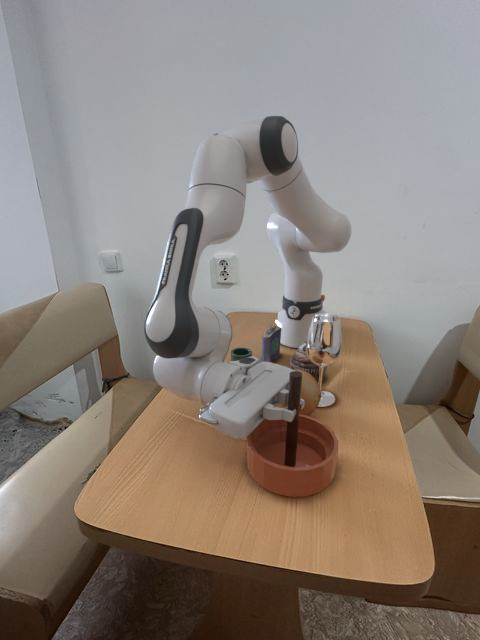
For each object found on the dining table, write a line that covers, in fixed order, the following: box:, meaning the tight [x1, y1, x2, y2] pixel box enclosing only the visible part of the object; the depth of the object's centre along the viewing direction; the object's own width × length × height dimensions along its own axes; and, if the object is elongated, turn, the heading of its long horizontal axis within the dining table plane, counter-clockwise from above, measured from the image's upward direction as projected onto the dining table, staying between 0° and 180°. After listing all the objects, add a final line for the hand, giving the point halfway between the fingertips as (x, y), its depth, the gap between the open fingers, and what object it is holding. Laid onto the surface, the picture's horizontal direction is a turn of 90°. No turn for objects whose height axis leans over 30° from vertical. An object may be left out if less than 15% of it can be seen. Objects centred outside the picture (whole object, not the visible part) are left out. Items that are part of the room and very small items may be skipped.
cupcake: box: [290, 342, 329, 383], centre depth 94 cm, size 10×10×10 cm
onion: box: [278, 369, 322, 416], centre depth 80 cm, size 10×10×10 cm
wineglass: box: [305, 312, 343, 408], centre depth 83 cm, size 8×8×20 cm
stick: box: [284, 371, 302, 467], centre depth 62 cm, size 2×2×18 cm
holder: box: [230, 347, 253, 361], centre depth 93 cm, size 5×5×8 cm
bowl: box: [246, 414, 339, 498], centre depth 65 cm, size 15×15×6 cm
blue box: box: [261, 323, 281, 363], centre depth 103 cm, size 9×3×11 cm, turn 151°
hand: (298, 410), depth 61 cm, fingers closed on stick, 2 cm apart
